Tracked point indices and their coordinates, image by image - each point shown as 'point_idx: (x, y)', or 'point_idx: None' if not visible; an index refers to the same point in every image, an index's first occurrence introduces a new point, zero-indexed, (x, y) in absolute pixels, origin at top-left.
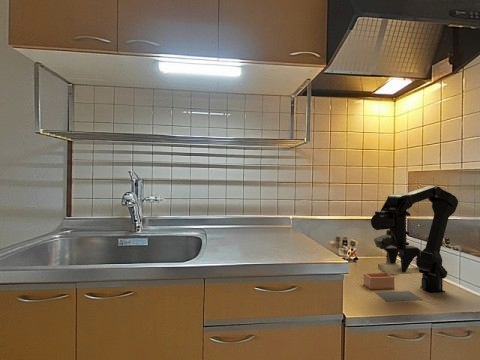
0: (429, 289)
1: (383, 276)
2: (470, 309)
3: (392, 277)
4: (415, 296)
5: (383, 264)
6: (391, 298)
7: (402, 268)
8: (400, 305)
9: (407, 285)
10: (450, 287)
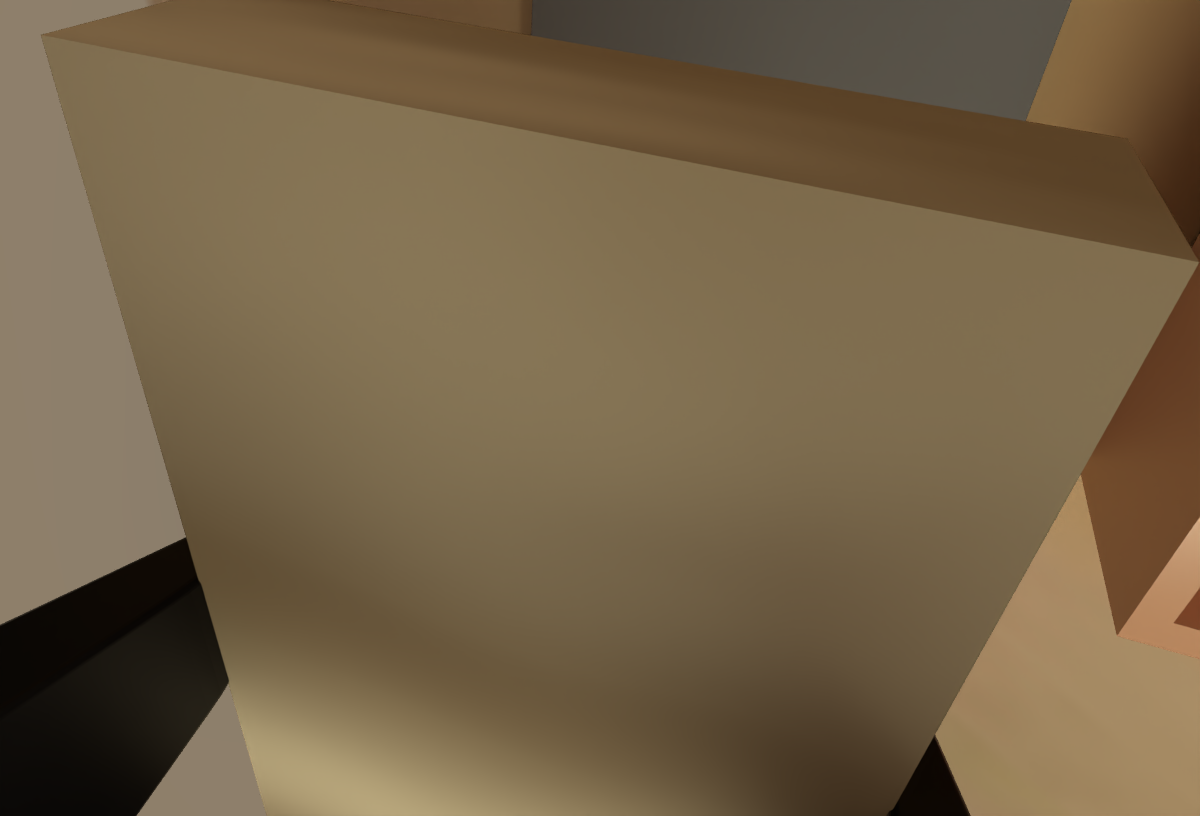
0: None
1: None
2: None
3: (1136, 597)
4: None
5: (851, 429)
6: (665, 46)
7: (125, 571)
8: (414, 13)
9: (1099, 721)
10: None
